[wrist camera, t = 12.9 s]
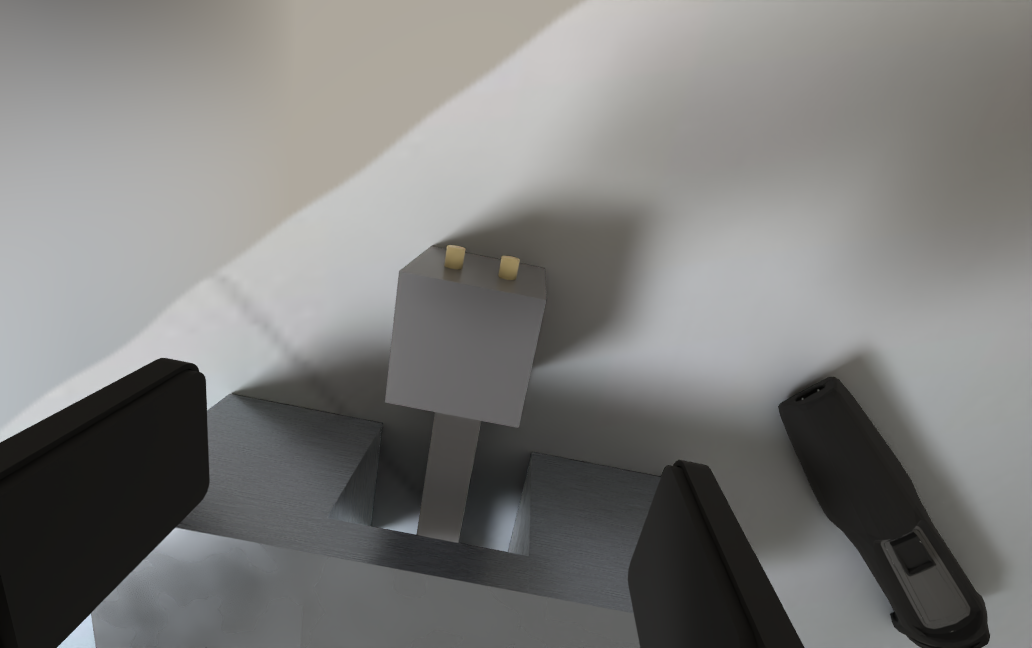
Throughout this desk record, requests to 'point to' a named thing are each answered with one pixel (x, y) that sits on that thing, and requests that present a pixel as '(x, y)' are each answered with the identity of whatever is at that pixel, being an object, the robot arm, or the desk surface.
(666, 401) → the desk surface
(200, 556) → the block
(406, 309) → the lever
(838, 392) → the electric trimmer
